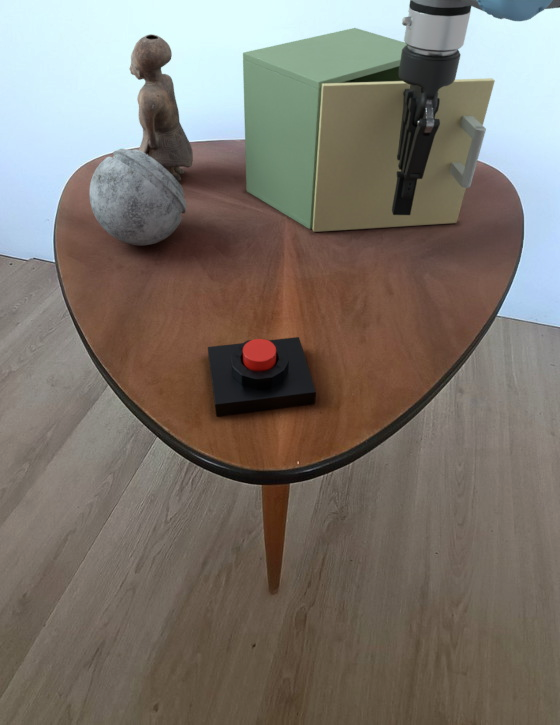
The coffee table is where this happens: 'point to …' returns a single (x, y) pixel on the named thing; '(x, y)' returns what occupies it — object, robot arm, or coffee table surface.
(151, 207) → the decorative orb
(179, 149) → the clay figurine
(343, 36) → the cupboard
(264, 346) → the button
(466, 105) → the door
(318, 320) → the coffee table surface
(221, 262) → the coffee table surface
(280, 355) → the button block
